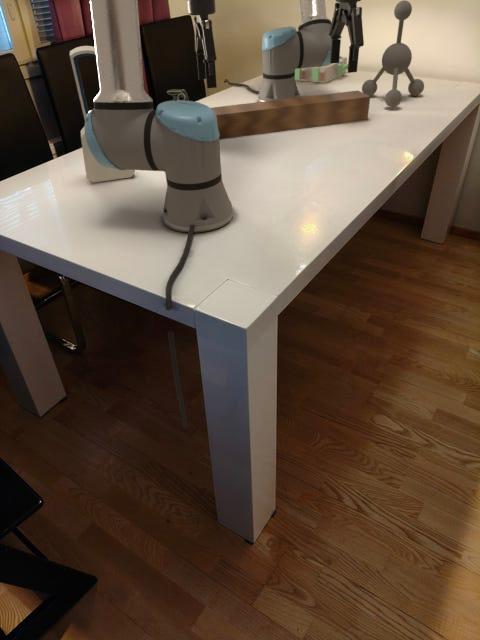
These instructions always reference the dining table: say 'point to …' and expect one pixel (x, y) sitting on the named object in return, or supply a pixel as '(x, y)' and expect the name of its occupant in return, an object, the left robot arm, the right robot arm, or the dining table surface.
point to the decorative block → (322, 72)
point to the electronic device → (92, 167)
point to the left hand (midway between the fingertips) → (207, 83)
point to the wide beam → (291, 113)
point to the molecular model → (396, 63)
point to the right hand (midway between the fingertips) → (343, 67)
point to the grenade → (178, 94)
